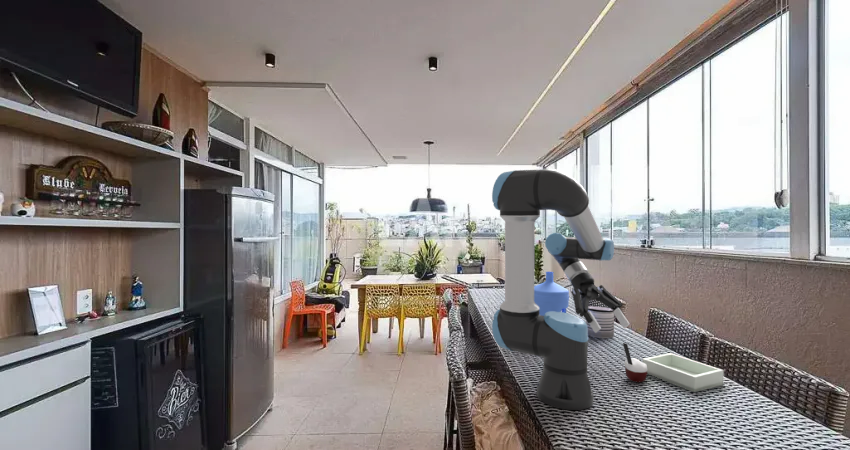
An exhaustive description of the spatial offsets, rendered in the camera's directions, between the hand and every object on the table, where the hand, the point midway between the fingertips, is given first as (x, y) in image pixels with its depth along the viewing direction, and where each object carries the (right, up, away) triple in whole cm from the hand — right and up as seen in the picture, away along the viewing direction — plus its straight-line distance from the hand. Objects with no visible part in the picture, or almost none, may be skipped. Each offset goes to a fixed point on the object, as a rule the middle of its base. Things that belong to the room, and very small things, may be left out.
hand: (612, 328), depth 138 cm
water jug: (-11, -13, +35) cm, 39 cm away
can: (+13, -13, +41) cm, 45 cm away
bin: (+19, -14, -7) cm, 25 cm away
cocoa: (+3, -14, -8) cm, 17 cm away
